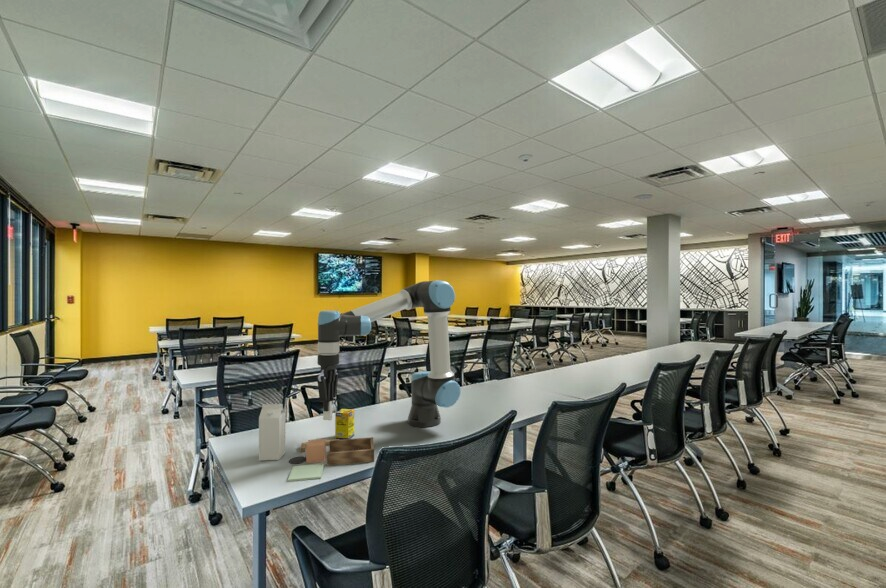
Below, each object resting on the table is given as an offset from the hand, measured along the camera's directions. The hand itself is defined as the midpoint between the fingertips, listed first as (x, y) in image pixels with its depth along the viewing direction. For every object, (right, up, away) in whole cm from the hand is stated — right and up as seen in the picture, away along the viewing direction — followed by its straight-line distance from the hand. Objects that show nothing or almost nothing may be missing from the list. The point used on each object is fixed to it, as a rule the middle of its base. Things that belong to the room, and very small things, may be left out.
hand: (327, 419), depth 145 cm
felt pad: (-3, -14, -12) cm, 19 cm away
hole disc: (-10, -14, -2) cm, 17 cm away
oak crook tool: (-6, -14, +10) cm, 18 cm away
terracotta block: (-4, -14, -1) cm, 15 cm away
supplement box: (+1, -14, +21) cm, 26 cm away
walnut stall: (+8, -14, +2) cm, 16 cm away
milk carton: (-21, -14, +2) cm, 25 cm away
